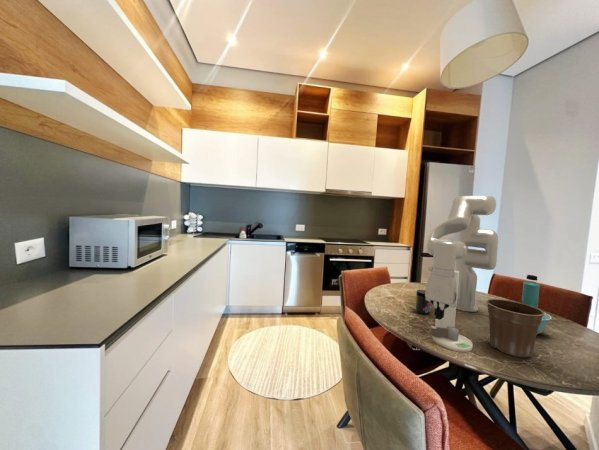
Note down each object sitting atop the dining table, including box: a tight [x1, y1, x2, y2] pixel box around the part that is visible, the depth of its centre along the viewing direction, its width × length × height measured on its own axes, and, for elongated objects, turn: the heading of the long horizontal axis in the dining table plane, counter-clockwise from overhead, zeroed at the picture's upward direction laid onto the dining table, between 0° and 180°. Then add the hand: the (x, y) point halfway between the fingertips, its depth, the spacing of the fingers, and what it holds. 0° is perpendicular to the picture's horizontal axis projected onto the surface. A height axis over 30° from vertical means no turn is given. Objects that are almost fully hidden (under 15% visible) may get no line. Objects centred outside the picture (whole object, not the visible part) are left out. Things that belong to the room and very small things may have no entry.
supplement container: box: [414, 289, 432, 316], centre depth 123 cm, size 7×7×10 cm
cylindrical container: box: [434, 269, 459, 328], centre depth 107 cm, size 7×7×25 cm
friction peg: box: [430, 325, 460, 341], centre depth 95 cm, size 10×4×4 cm, turn 83°
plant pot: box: [485, 298, 546, 359], centre depth 92 cm, size 16×16×16 cm
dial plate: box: [431, 334, 473, 353], centre depth 95 cm, size 13×13×2 cm
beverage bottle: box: [521, 274, 541, 309], centre depth 129 cm, size 6×7×20 cm
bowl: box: [537, 312, 552, 335], centre depth 109 cm, size 16×16×8 cm
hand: (438, 318), depth 99 cm, fingers closed
